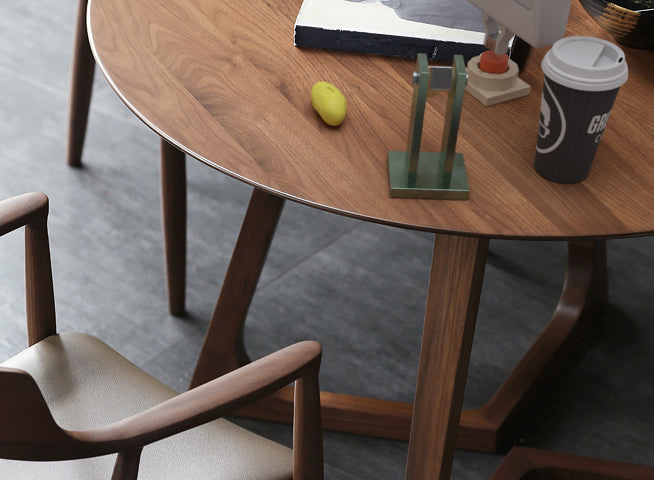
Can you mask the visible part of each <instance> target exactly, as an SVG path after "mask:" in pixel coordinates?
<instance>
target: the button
mask: <svg viewBox="0 0 654 480" xmlns="http://www.w3.org/2000/svg"><path fill="white" fill-rule="evenodd" d="M480 55H481V58H480V65H479V69H480V70H481V71H483V72H486V73H489V74H502V73H505V72H506V71H507V65H508V60H509V59H510V58H509V55H508V54H507V53H505V54H502V55H497V54H495V53H494V52H493V51H492V50H490V49H489V50H486V51H483V52H482V53H481V54H480Z"/></svg>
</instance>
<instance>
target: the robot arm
mask: <svg viewBox="0 0 654 480" xmlns="http://www.w3.org/2000/svg"><path fill="white" fill-rule="evenodd" d="M465 1H466V2H467V3H469V4H470V5H472V6H474V7H475V8H476V9H478V10H479V11H481V17H480V18H481V23H482V29H483V32H484V37H483V46H485V47H486V48H487V49H489V50H492V51H493V52H494V53H495V54H497V55H502V54H507V53H508V51H509V46H510V41H512V39H513V38H514V37H515V36H516V37H518V38H520V39H521V40H523V41H524V42H525V43H527V44H529V45H530V46H532V47H533V48H534V49H537V50H539V49H546V48H549V47H553V45H554V44H555V42H557V41H558V40H560V39H563V38H564V37H565V33H566V29H567V26H568V20H569V16H570V11H571V5H572V0H465Z"/></svg>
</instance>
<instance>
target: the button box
mask: <svg viewBox="0 0 654 480" xmlns="http://www.w3.org/2000/svg"><path fill="white" fill-rule="evenodd" d="M480 58H481V54H480V55H476V56H472V58H471V59H470V60H468V62H467V64H466V65H467V66H466V67H465V68H466V73H468V84H467V86H465V90H464V91H465V92H467V94H470V96H471V97H473V98H475V99H476V100H477V101H478V102H480V103H481V104H482V105H483V106H484V107H489V106H492V105H493V106H494V105H496V104H501V103H504V102H507V101H511V100H515V99H519V98H523V97H526V96H529V95H530V94H531V93H530V92H531V88H532V86H531V85H529V84H528V83H527V82H525V81H524V80H522V79H521V78H520V77H519V71H520V69H519V66H518V64H517V62H515V61H513V60H512V59H511V58H509V60H508V65H507V71H506V72H505V73H502V74H489V73H486V72H483V71H481V70H480V69H479V65H480Z"/></svg>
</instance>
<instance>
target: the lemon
mask: <svg viewBox="0 0 654 480" xmlns="http://www.w3.org/2000/svg"><path fill="white" fill-rule="evenodd" d="M310 102H311V105H312V107H313V109H314V110H315V111H316V112H317V114H318V115H319V116H320V117H321V119H322V121H324V122H325V123H326V124H327V125H329V126H332V127H337V126H339V125H341V124H342V123H343V121H344V120H345V118H346V116H347V108H348V103H347V98H346V97H345V95H344V94H343V93H342V91H340V89H339V88H337V86H335V85H333V84H332V83H329V82H327V81H324V80H322V81H318V82H316V83H315V84H314V85H313V86H312V88H311V92H310Z"/></svg>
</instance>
